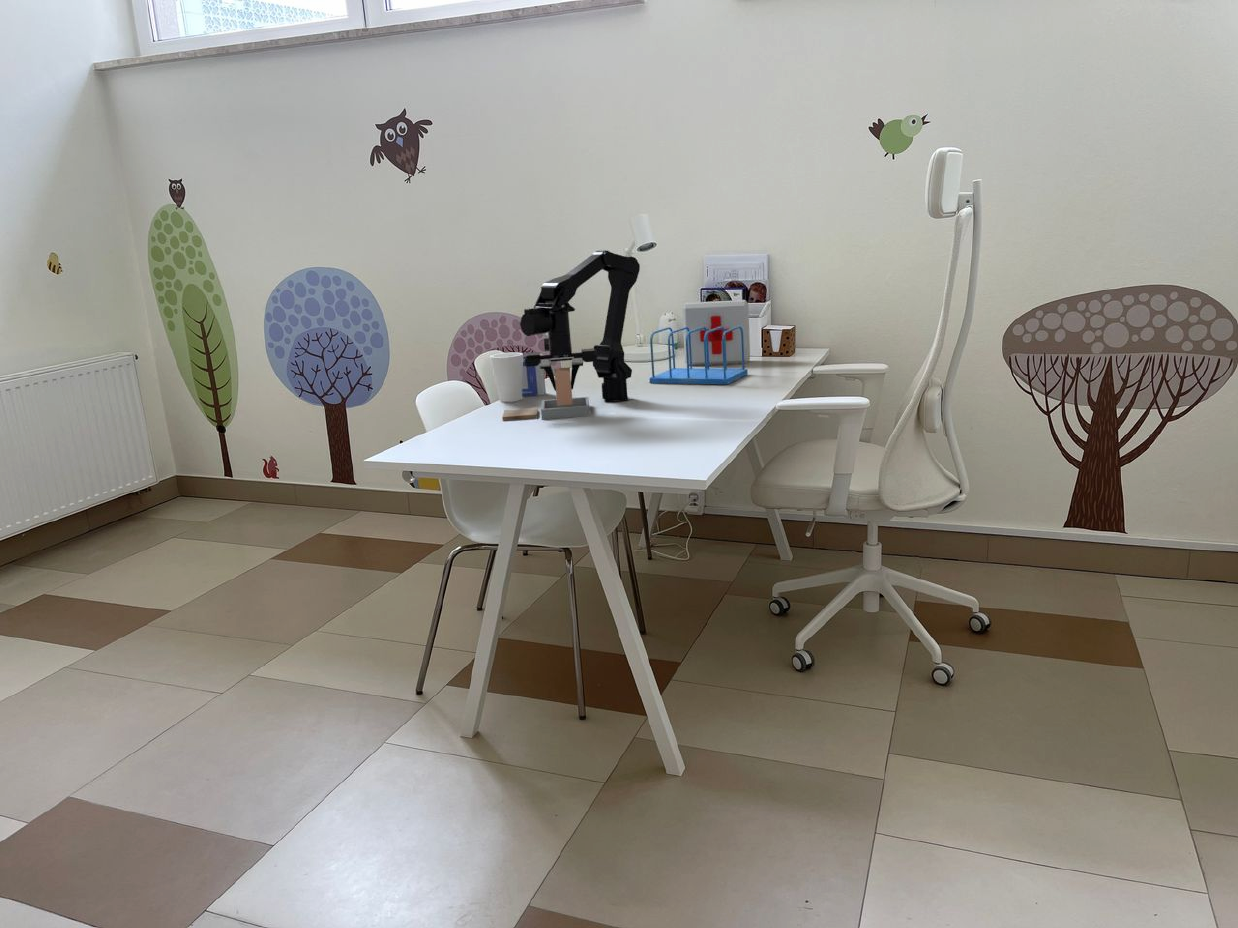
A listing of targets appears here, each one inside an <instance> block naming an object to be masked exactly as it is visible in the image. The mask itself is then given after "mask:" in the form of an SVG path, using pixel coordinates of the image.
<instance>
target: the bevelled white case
mask: <svg viewBox="0 0 1238 928" xmlns="http://www.w3.org/2000/svg"><path fill="white" fill-rule="evenodd" d="M749 307H750V306H749V302H747V300H746V299H737V300H718V301H697V302H696V301H695V302H686V303H685V304H684V305H683V307H682V308H681V310H682V311H681V312H682V325H683V326H682V328H684V327H688V328H689V330H690V331H692V330H695V329H698V328H701V327H706V329H707V331H709V330H712V329H715V328H718V327H724V330H725V331H727V330H729V329H732V328H735V327H738V326H740V327H741V328H742V330H743V341H744V364H747V363H748V362H749V361H750V359H751V346H750V345H751V344H750V343H751V340H750V338H751V337H750V313H749V312H750V311H749V310H750V309H749ZM682 331H683V345H684V346H683V347H684V363H685V364H686V365H687V358H686V335H687V333H688V330H687V329H684V330H682ZM705 333H706V332H705V329H701V330H698V331H695V332H692V333H690V335H691V354H692V367H693V366H705V356H704V336H705ZM725 336H726V361H727V365H738V364H739V365H740V364H741V365H742V343H741V331H740V329H739V328H738V329H735V330H733V331H730V332H728V333H726V334H725ZM722 337H723V330H722V329H718V330H715V331H713V332H710V333H708V348H709V366H711V365H712V366H714V365H716V366H717V365H723V349H722ZM688 354H689V336H688ZM706 354H707V350H706ZM689 367H690V354H689Z"/></svg>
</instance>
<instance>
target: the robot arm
mask: <svg viewBox="0 0 1238 928" xmlns="http://www.w3.org/2000/svg"><path fill="white" fill-rule="evenodd" d="M640 269H641V267H640V263H639V261H638V259H637V258H636V257H634V256H625V255H621V254H618V253H613V252H611V251H609V250H605V249H604V250H595V251H594V252H592V253H591V255H590V256H589V257H587V258H586V259H584V260H583V261H582V262H580V263H579V264H578V265H577V266H575V267H574V268H572V269H570V270H569V272H567V273H565V274H564V275H562V276H558V277H555V278H553V279H549V280H547V281H545V282H544V283H543V284H542V285H541V287H540V292H539V294H538V297H537V299H536V302H535V304H534V306H533V308H529V307H528V308H527V307H526V308H524V310H523V311H524V314H522V315H521V319H520V322H519V325H520V330H521V332H522V333H523V334H524V335H525V336H527V337H532V336H537V335H543V334H547V336H548V337H547V338H543V346H544V347H543V348H544V351H545V352H549V354H542V355H540V354H541V352H527V353H526V354H525V355H526V356H525V366H526V367H530V366H538V365H539V364H540V369H544V372H545V373H546V375H547V376H548V378H549V380H550V383H551V385H552V388H553V390H554V392H556V384H555V372H554V370H553V362H565V361H571V370H570V377H571V390H574V386H575V381H576V378H577V374H578V372H579V369H580V367H583V366H584V363H592V367H593V368H594V370H595V373H596V375H597V377H598V378H599V379H600V378H602V380H603V382H601V394H602V395H601V396H602V400H604V402H605V403H608V402H610V403H611V402H621V401H624V402H625V401H629V396H628V387H627V386H628V385H627V380H628V379H629V378H631V377H632V373H633V369H632V368H631V367H630V366H629V365H628V364H627V363H626V362H625V351H624V348H623V345H622V337H623V332H624V331H623V330H624V325H625V320H626V314H627V313H626V312H627V308H628V302H629V294H630V291H631V289H632V288H633V286H634V285H635V284H636V282H637V280H638V277H639V273H640ZM602 270H603V271H605V272H607V280H608V282H609V284H610V290H611V291H610V296H609V303H608V308H607V314H606V319H605V327H604V331H603V337H602V338H603V339H602V341H601V342H600V343H599V344H594V345H593V347H592V348H581V349H580V350H581V352H573V350H572V339H571V328H570V317H569V316H570V314H569V313H570V312H575V311H576V308H575V307H573V306H572V305H571V304H570V303H569V302H570V301H571V300H572V299H573V297H575V295H576V294H577V293H576V292H577V290H578V289H579V288H580V287H581V286H582V285H584V283H586V282H587V281H589V280H590V279H592V278H593V277H594V276H595V275H597V274H598V273H599V272H600V271H602Z"/></svg>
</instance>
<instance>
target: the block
mask: <svg viewBox="0 0 1238 928" xmlns="http://www.w3.org/2000/svg"><path fill="white" fill-rule="evenodd" d="M553 373H554V378H555V384H556V391H555V392H556V395H555V396H556V399H557V406H559V405H572V404H573V402H572V398H573V394H572V393H573V391H572V390H571V367H560V368H558V367H557V368H554V370H553Z"/></svg>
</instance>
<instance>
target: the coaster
mask: <svg viewBox="0 0 1238 928" xmlns="http://www.w3.org/2000/svg"><path fill="white" fill-rule="evenodd" d="M538 414H539V407H526V408H514V409H504V411H503V414H502V421H503V422H504V421H517V420H530V419H538V416H539V415H538Z"/></svg>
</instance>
